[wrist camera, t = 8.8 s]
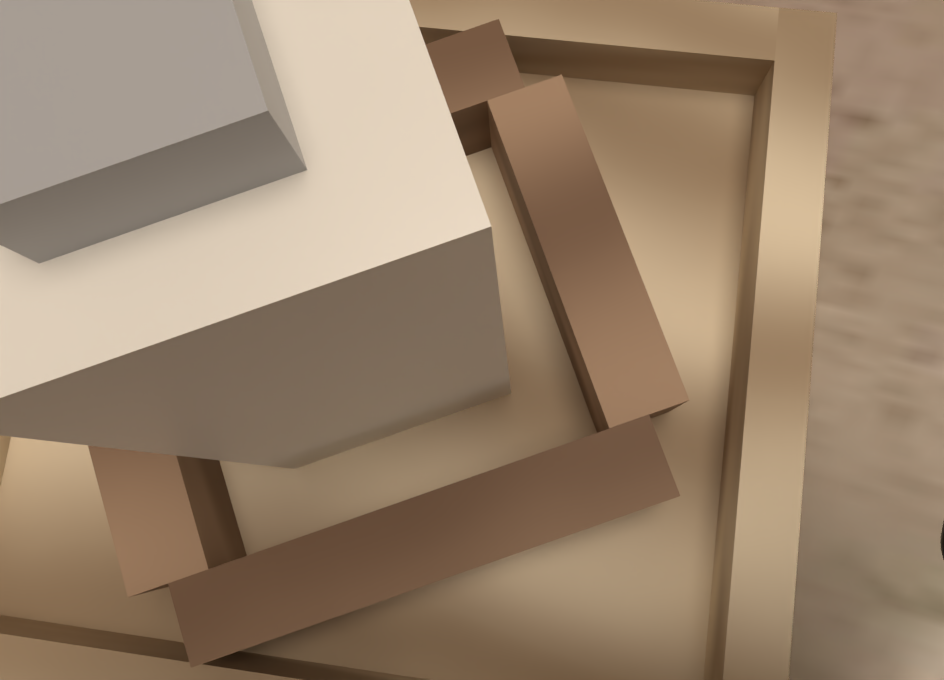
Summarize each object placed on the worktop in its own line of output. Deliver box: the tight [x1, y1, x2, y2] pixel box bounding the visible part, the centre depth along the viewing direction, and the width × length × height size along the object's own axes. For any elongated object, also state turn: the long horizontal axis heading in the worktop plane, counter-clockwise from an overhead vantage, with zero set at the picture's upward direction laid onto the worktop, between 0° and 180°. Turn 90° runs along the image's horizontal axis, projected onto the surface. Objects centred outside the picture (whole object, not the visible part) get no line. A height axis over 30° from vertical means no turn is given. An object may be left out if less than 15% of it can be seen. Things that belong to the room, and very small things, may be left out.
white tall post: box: [0, 0, 511, 469], centre depth 13 cm, size 4×5×14 cm
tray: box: [0, 0, 837, 680], centre depth 19 cm, size 16×18×3 cm
